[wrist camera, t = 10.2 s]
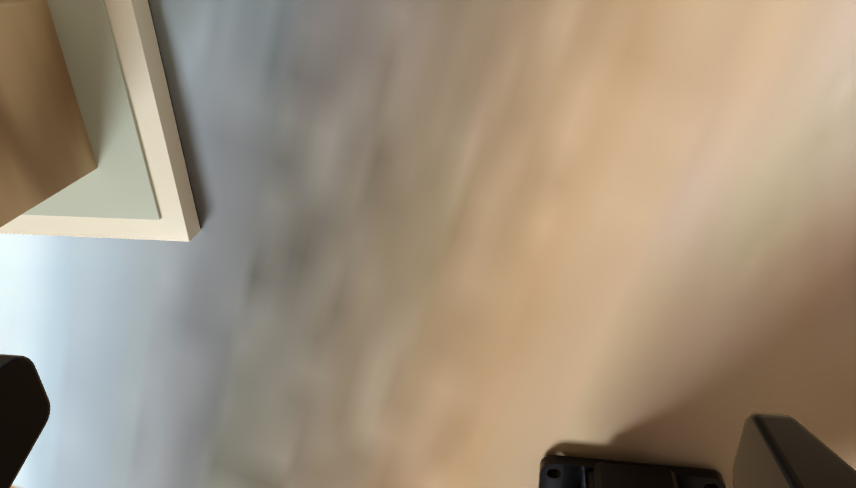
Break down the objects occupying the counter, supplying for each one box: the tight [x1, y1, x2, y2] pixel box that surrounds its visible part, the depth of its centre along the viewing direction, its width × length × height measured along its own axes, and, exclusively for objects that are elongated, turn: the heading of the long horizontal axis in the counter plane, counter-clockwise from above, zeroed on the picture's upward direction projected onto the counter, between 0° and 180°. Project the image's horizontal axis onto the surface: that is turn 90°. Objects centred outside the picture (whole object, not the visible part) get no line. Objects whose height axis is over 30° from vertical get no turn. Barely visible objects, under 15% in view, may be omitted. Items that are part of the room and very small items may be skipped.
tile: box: [0, 0, 200, 241], centre depth 20 cm, size 10×10×1 cm
